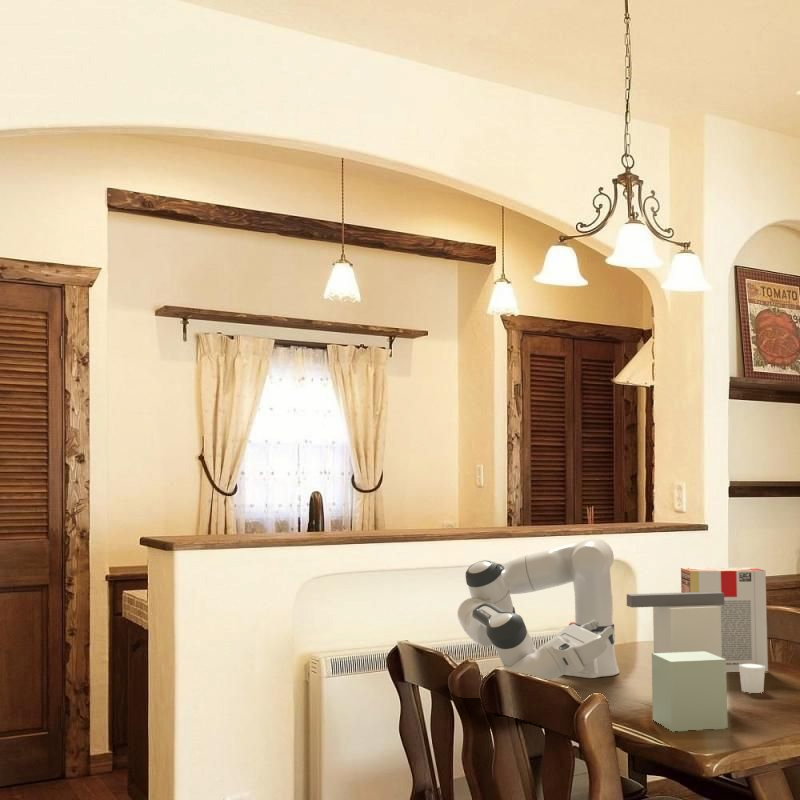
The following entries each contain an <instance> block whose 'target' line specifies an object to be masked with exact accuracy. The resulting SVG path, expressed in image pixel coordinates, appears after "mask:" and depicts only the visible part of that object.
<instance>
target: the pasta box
mask: <svg viewBox="0 0 800 800" xmlns="http://www.w3.org/2000/svg"><path fill="white" fill-rule="evenodd" d="M766 579H767V577H766V570H764V569H761V568H757V567H681V568H680V586H681V587H680V589H681V592H680V593H687V592H722V593H724V605H715V606H719V607H721V642H722V658H724V659H726V672H739V664H742V663H754V664H760V665H764V666H765V671H768V672H769V660H768V623H767V622H768V621H767V620H768V619H767V618H768V617H767V581H766Z"/></svg>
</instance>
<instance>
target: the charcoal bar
mask: <svg viewBox="0 0 800 800" xmlns="http://www.w3.org/2000/svg"><path fill="white" fill-rule="evenodd" d="M698 605H724V593H722V592H687V593H681V592H660V593H658V592H655V593H652V592H651V593H626V606H627V607H629V608H653V607H665V606H698Z"/></svg>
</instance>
